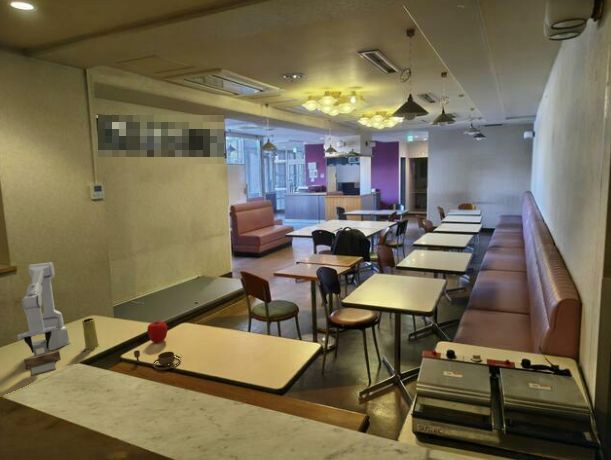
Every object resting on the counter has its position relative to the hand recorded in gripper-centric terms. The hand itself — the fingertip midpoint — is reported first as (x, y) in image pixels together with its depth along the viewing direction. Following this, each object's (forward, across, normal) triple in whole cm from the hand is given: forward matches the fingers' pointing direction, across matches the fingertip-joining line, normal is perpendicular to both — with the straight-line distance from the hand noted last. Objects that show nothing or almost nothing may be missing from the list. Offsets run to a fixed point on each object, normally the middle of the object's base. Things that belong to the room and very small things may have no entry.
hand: (40, 350), depth 188 cm
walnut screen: (+9, 0, +6) cm, 11 cm away
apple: (+9, +50, -5) cm, 51 cm away
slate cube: (+2, 0, 0) cm, 2 cm away
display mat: (+9, 0, 0) cm, 9 cm away
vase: (+9, +21, +11) cm, 26 cm away
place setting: (+10, +46, -28) cm, 54 cm away
